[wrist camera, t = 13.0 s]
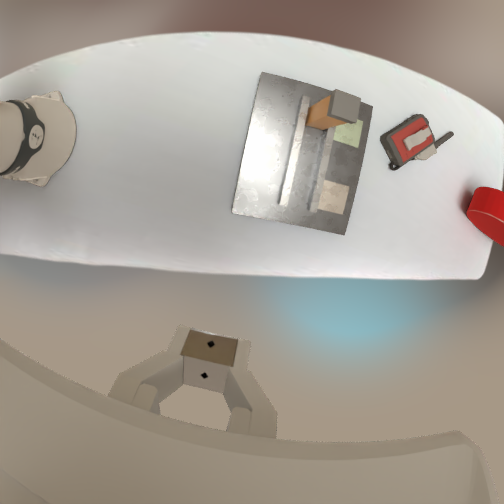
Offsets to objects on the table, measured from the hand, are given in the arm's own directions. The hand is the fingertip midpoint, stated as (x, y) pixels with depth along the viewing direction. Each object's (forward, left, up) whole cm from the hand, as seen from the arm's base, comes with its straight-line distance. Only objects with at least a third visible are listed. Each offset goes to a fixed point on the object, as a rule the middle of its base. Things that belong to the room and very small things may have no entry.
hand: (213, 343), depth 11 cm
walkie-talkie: (+34, +22, -38) cm, 55 cm away
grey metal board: (+11, +11, -37) cm, 40 cm away
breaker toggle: (+11, +17, -35) cm, 41 cm away
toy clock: (+58, +12, -37) cm, 70 cm away
